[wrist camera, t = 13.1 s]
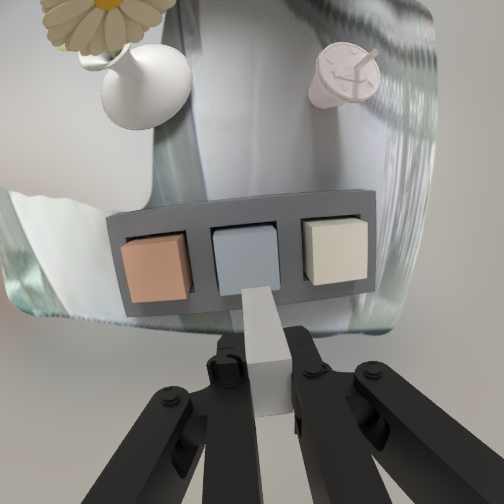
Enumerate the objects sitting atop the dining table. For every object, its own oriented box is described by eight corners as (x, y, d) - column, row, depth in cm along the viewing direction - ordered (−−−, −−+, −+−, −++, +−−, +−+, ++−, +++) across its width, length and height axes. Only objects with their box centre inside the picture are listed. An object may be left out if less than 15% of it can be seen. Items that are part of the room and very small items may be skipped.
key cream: (300, 220, 32) (311, 227, 28) (349, 216, 33) (367, 222, 28) (303, 270, 34) (314, 285, 29) (350, 264, 34) (366, 278, 29)
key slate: (216, 228, 32) (212, 236, 27) (269, 222, 32) (276, 230, 27) (222, 279, 34) (220, 295, 29) (273, 274, 34) (280, 289, 29)
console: (119, 213, 33) (105, 217, 29) (361, 189, 34) (375, 190, 30) (136, 303, 36) (126, 317, 32) (361, 280, 37) (374, 291, 33)
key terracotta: (136, 237, 32) (120, 247, 27) (185, 231, 32) (176, 240, 27) (145, 286, 33) (132, 302, 28) (192, 282, 33) (186, 298, 29)
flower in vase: (109, 142, 30) (-54, 110, 6) (106, 63, 28) (-13, -28, 3) (213, 119, 31) (167, -8, 7) (203, 39, 28) (171, -114, 4)
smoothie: (354, 110, 31) (416, 80, 18) (310, 126, 32) (357, 97, 18) (332, 67, 30) (380, 17, 16) (287, 81, 30) (318, 28, 16)
